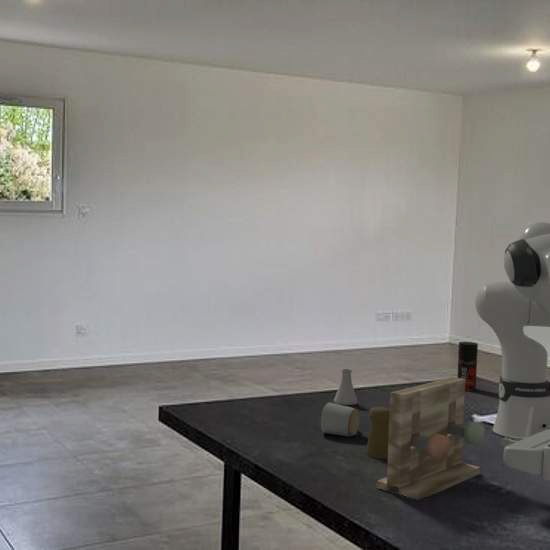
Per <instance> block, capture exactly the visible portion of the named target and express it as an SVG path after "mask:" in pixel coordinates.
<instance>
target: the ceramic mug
mask: <svg viewBox="0 0 550 550" xmlns="http://www.w3.org/2000/svg"><path fill="white" fill-rule="evenodd" d="M360 418H361V417H360V411H358V409H356V408H354V407H351V406H348V405H341V404H336V403H334V402H327V403H326V404H325V405H324V407H323V409H322V412H321V417H320V428H321V432H322V433H324V434H329V435H336V436H342V437H351V438H352V437H354V436H355V435H356V434H357V433H358V431H359V430H358V429H359V427H360V420H361V419H360Z"/></svg>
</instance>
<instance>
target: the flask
mask: <svg viewBox="0 0 550 550" xmlns="http://www.w3.org/2000/svg"><path fill="white" fill-rule="evenodd" d="M340 371H341V380H340V383H339V386H338V389H337V391H336V394H335V396H334V399H333V402H332V403H334V404H338V405H342V406H355V405H357V404H359V403H358V402H359V401H358V398H357V395H356V393H355V389H354V386H353V382H352V380H353V379H352V373H353V369H351V368H341V370H340Z"/></svg>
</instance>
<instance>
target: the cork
mask: <svg viewBox="0 0 550 550" xmlns="http://www.w3.org/2000/svg"><path fill="white" fill-rule="evenodd" d="M389 413H390V408H389V407H384V406H373V407H371V409H370V410H369V413H368V417H369V420H370V427H369V433H368V439H367V445H366V450H365V451H366V452H365V455H366V456H367V457H369V458H370V457H371V458H373V459H388V439H389Z"/></svg>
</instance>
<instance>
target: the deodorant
mask: <svg viewBox="0 0 550 550" xmlns="http://www.w3.org/2000/svg"><path fill="white" fill-rule="evenodd" d="M478 348H479V344H478V343H477V342H472V341H460V342H458V355H457V356H458V359H457V376H456V378H462V379H465V392H474V391H476V389H477V388H476V386H477V369H478V368H477V366H478Z"/></svg>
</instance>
